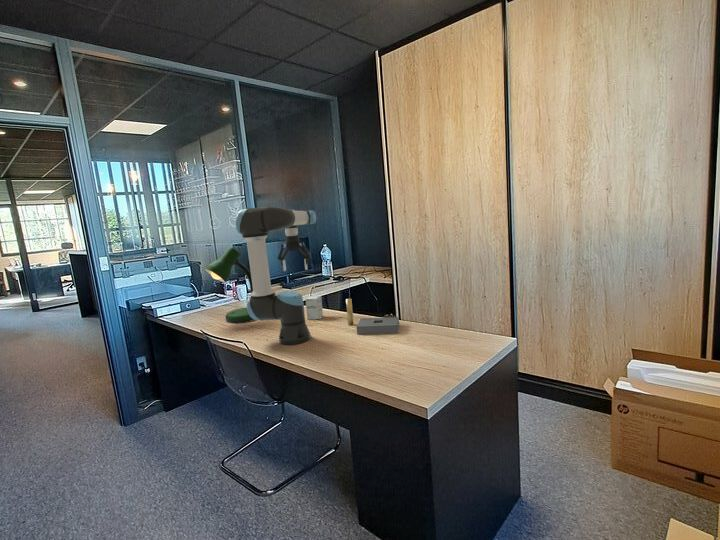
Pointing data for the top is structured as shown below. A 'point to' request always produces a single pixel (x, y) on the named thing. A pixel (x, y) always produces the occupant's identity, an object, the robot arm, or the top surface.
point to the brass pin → (349, 311)
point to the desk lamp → (222, 272)
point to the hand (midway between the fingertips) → (295, 270)
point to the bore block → (378, 325)
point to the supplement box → (314, 307)
